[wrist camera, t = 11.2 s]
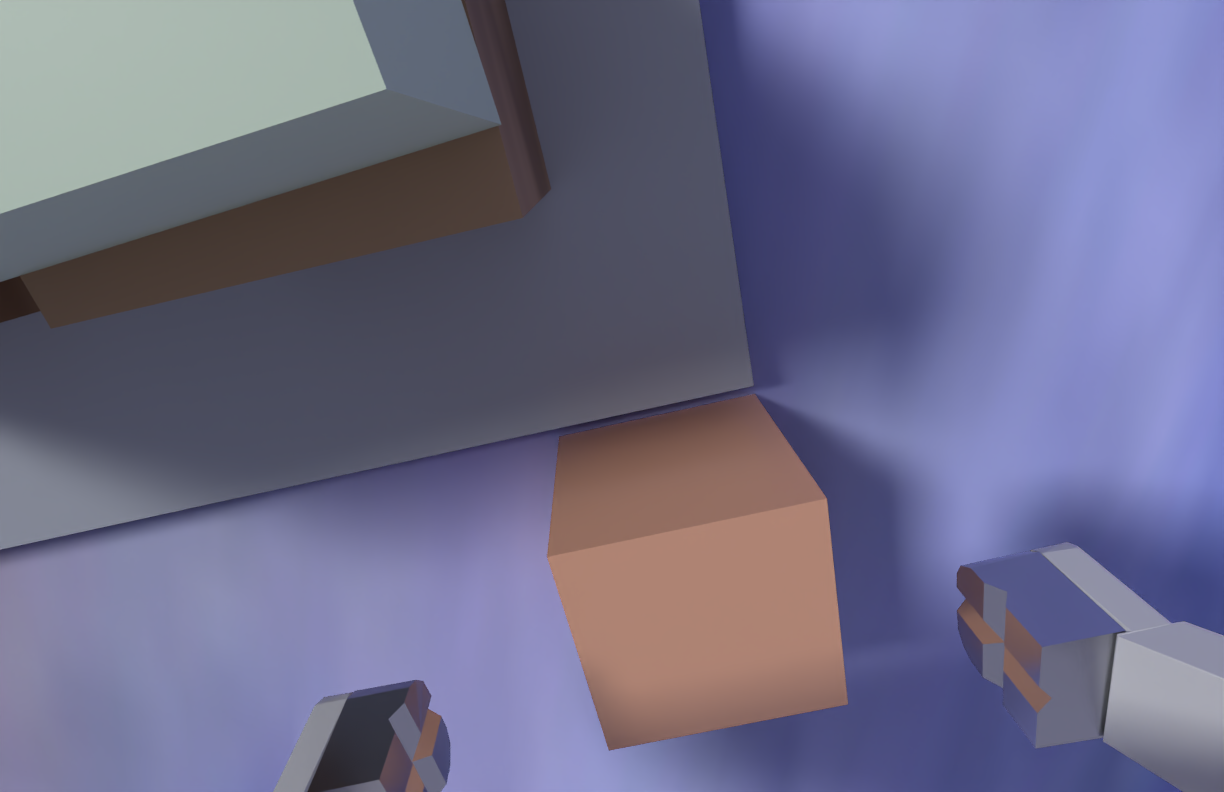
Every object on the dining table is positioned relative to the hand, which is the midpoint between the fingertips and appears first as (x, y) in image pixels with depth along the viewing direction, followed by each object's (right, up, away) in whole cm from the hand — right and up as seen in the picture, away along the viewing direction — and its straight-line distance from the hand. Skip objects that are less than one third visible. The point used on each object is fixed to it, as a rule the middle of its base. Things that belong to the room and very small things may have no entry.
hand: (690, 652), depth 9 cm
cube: (0, +1, +5) cm, 6 cm away
